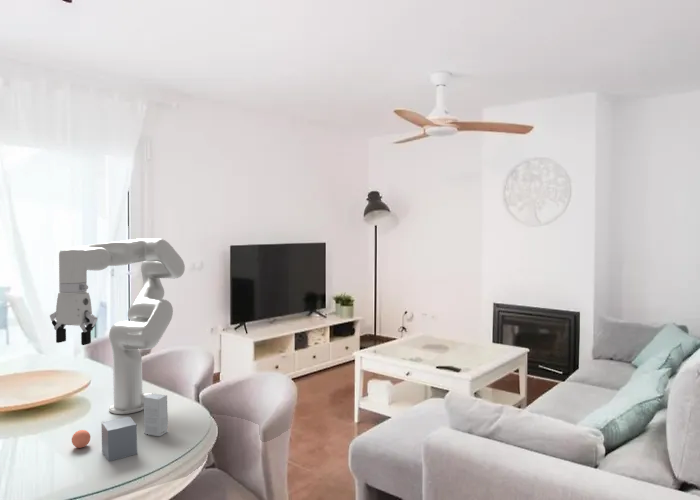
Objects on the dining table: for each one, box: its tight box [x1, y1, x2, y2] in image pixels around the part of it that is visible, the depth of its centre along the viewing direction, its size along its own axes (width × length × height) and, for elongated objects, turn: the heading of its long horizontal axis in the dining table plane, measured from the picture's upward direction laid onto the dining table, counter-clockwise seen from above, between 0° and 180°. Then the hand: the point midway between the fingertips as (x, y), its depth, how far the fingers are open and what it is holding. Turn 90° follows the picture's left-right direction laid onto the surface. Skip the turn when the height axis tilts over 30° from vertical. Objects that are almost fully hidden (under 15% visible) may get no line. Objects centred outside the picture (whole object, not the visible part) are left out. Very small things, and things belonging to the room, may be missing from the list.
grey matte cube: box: [100, 416, 138, 462], centre depth 151 cm, size 8×8×9 cm
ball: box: [71, 429, 91, 449], centre depth 155 cm, size 5×5×5 cm
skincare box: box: [143, 392, 169, 437], centre depth 166 cm, size 6×4×12 cm
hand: (73, 343), depth 162 cm, fingers open, 9 cm apart
